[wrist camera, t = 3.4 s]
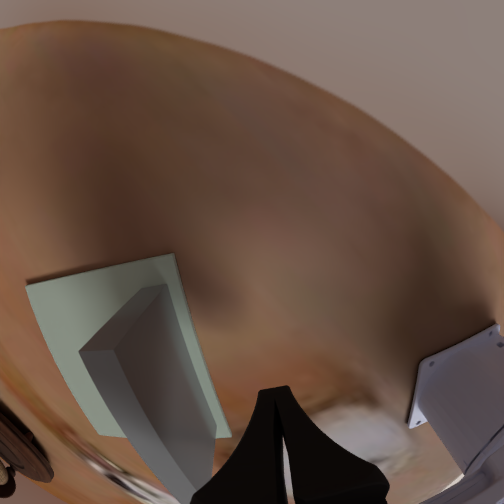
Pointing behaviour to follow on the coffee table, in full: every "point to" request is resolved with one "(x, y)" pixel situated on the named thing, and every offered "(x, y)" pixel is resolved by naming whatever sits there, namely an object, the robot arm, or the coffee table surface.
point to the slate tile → (154, 390)
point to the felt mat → (97, 314)
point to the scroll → (19, 458)
